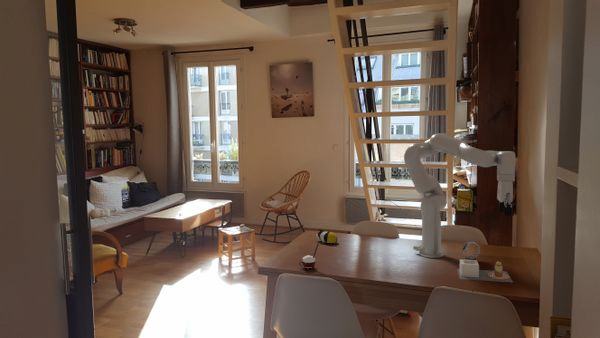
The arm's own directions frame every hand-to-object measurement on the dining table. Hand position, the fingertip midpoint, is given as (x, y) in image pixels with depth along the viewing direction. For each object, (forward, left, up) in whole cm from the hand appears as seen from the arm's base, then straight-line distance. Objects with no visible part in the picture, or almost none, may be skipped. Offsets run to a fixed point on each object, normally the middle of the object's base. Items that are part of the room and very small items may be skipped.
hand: (505, 213), depth 199 cm
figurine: (-93, +29, -26) cm, 101 cm away
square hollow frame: (-18, -20, -24) cm, 36 cm away
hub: (-6, -19, -24) cm, 32 cm away
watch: (-15, 0, -26) cm, 30 cm away
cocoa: (-91, -21, -26) cm, 97 cm away
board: (-12, -20, -26) cm, 34 cm away
